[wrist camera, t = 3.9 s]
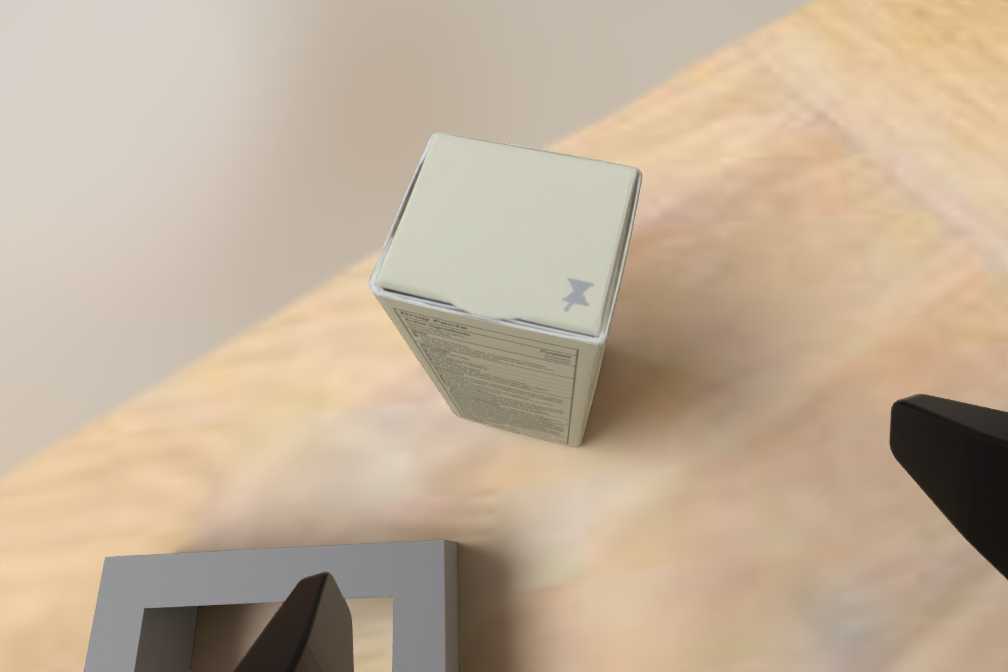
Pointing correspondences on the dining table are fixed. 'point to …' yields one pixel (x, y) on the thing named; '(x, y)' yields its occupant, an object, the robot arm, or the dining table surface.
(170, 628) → the block
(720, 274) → the dining table surface
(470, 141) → the box
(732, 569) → the dining table surface
